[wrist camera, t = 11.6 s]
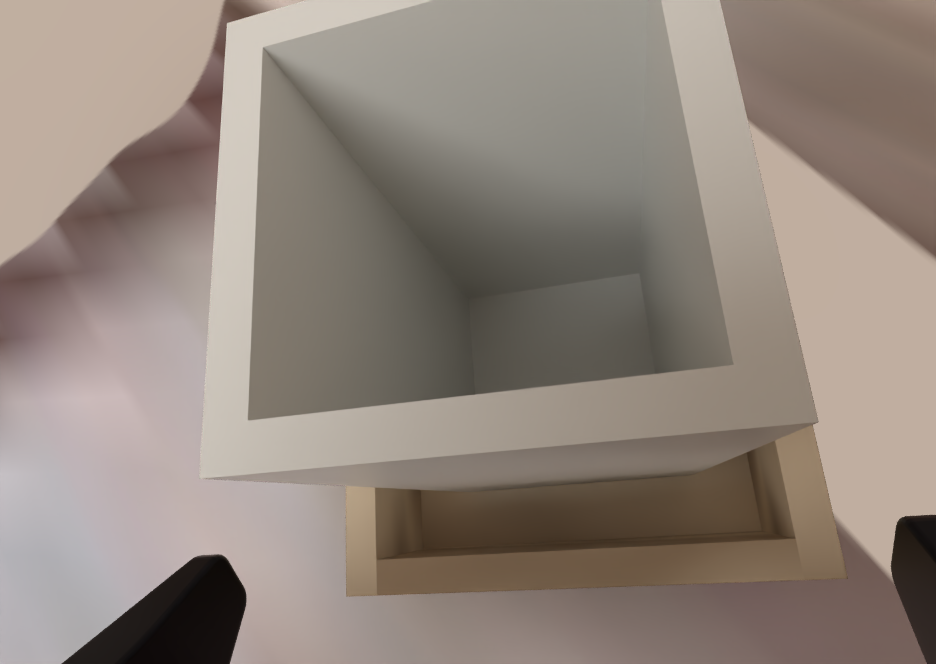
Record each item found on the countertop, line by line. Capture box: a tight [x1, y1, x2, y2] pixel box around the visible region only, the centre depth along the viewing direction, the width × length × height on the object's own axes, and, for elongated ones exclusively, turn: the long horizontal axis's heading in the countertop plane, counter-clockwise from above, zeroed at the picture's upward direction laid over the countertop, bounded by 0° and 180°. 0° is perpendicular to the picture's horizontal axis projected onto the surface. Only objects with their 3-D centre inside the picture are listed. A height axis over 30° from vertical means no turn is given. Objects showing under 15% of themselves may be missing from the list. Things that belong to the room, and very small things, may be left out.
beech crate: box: [346, 425, 848, 597], centre depth 17 cm, size 11×11×4 cm
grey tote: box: [199, 0, 818, 492], centre depth 13 cm, size 6×6×12 cm
